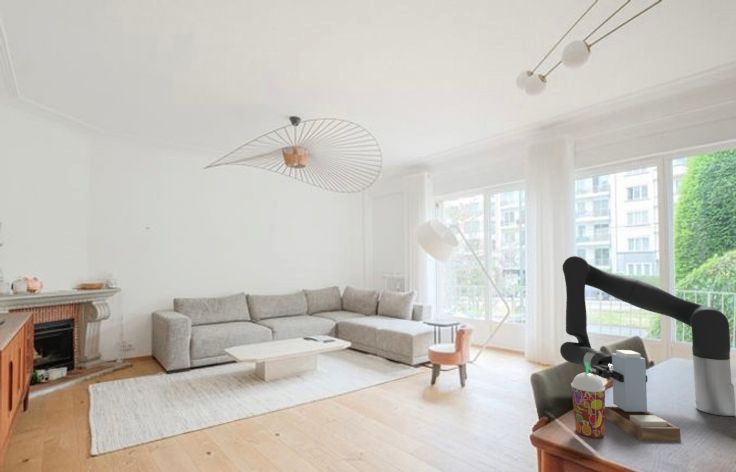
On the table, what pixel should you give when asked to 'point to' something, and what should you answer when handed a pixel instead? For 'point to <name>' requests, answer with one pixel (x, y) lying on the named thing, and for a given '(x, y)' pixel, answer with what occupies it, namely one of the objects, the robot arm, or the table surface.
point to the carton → (630, 381)
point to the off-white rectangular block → (648, 421)
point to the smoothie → (588, 404)
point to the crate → (641, 433)
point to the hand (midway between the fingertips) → (634, 379)
